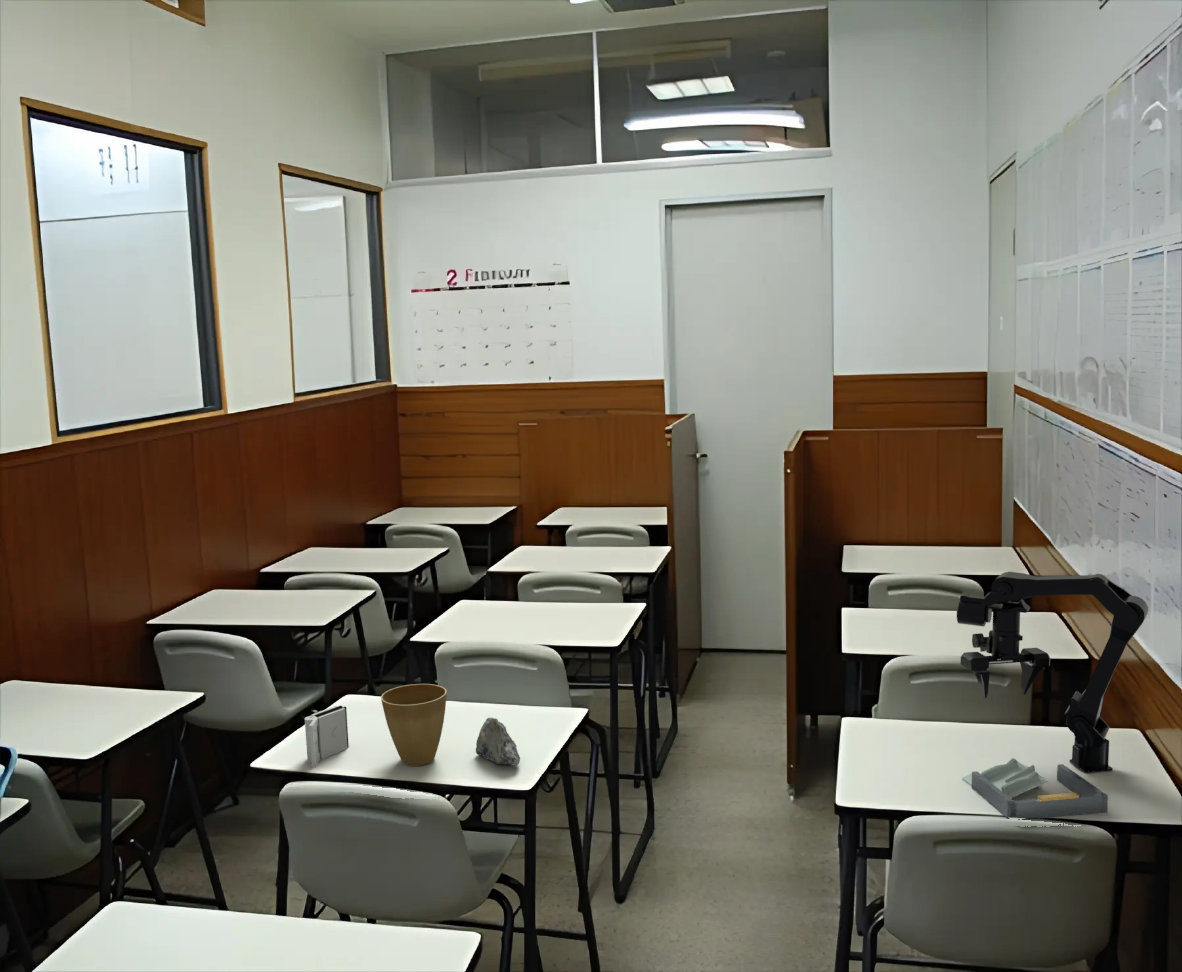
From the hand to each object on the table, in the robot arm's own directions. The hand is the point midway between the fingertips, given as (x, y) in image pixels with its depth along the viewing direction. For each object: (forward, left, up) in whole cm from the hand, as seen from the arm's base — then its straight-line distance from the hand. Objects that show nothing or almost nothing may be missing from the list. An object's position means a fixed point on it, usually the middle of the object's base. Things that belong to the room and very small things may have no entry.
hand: (1004, 696), depth 248 cm
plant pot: (+132, -22, -13) cm, 134 cm away
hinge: (+153, -29, -13) cm, 156 cm away
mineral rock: (+114, -17, -13) cm, 116 cm away
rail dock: (+6, +25, -13) cm, 29 cm away
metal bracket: (+9, +19, -14) cm, 25 cm away
